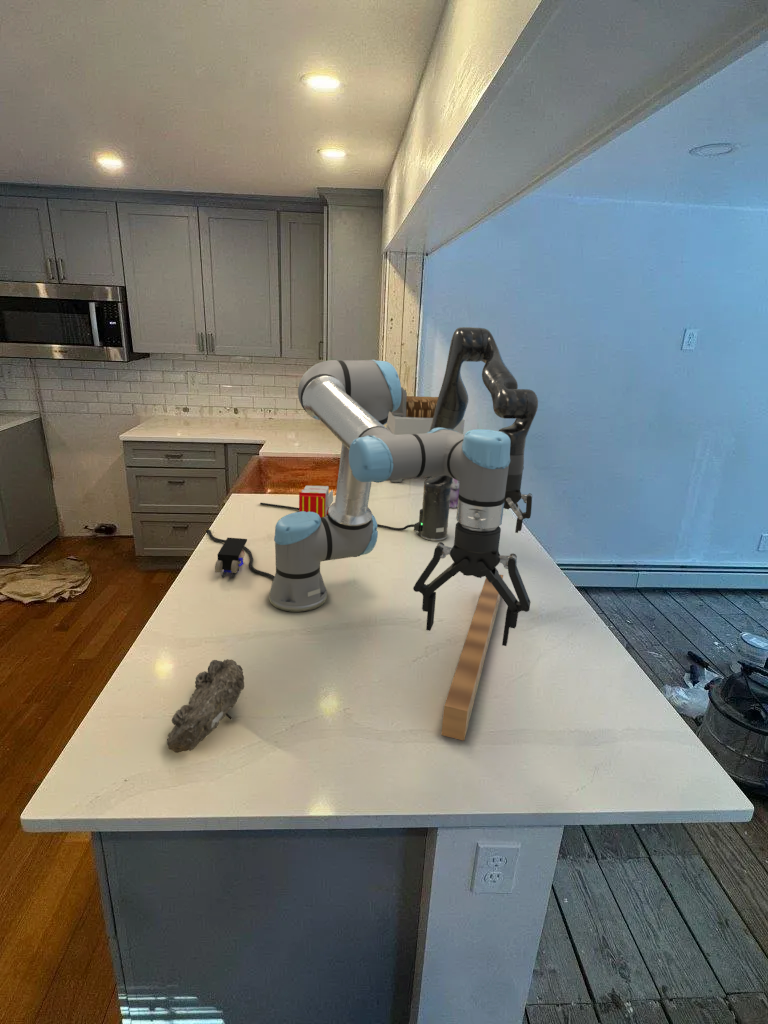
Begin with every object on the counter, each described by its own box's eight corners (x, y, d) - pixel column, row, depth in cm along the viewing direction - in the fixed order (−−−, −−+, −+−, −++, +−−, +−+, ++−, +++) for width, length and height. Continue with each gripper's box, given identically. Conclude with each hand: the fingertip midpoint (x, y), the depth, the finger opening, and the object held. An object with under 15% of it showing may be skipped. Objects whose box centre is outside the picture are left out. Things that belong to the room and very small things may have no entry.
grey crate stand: (382, 463, 289) (386, 382, 275) (445, 464, 293) (451, 384, 279) (390, 482, 257) (394, 392, 243) (460, 483, 261) (468, 394, 247)
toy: (334, 481, 223) (329, 494, 194) (333, 514, 226) (328, 532, 197) (303, 480, 223) (293, 493, 193) (303, 513, 225) (293, 531, 196)
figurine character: (238, 584, 162) (249, 557, 175) (236, 562, 158) (247, 536, 172) (215, 584, 161) (227, 556, 175) (212, 561, 158) (225, 535, 171)
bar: (485, 593, 160) (487, 572, 158) (500, 596, 159) (503, 575, 157) (441, 735, 106) (444, 705, 104) (464, 740, 105) (467, 711, 103)
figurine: (451, 509, 226) (454, 473, 221) (437, 502, 234) (440, 467, 229) (470, 507, 230) (474, 471, 225) (456, 499, 238) (459, 465, 233)
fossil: (192, 660, 117) (244, 628, 112) (224, 691, 120) (276, 661, 115) (142, 746, 98) (202, 712, 93) (182, 779, 101) (242, 748, 96)
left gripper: (400, 520, 95) (394, 631, 102) (555, 543, 88) (536, 660, 95) (412, 506, 101) (405, 611, 108) (556, 527, 95) (539, 637, 102)
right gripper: (477, 469, 141) (470, 530, 146) (535, 476, 137) (527, 538, 143) (481, 462, 148) (475, 520, 153) (537, 469, 144) (529, 528, 149)
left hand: (466, 634), depth 102 cm, fingers open, 13 cm apart
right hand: (500, 529), depth 148 cm, fingers open, 8 cm apart
